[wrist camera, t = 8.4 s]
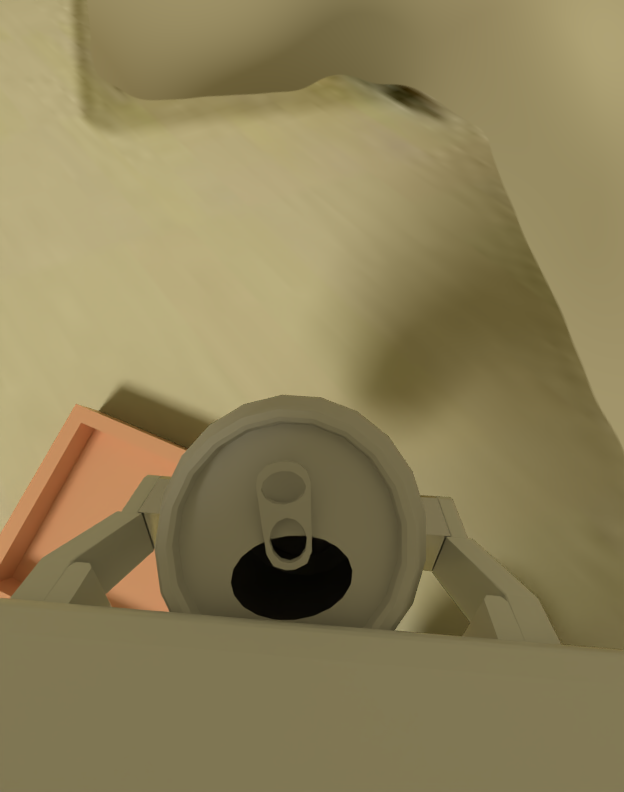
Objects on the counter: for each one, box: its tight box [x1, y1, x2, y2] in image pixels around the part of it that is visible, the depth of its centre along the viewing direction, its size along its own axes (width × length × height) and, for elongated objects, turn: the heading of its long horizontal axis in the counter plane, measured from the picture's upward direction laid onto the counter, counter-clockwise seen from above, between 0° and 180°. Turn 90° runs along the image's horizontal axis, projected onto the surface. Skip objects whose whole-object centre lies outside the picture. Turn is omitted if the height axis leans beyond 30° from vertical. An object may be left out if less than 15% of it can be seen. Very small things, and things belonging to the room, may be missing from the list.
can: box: [154, 395, 426, 631], centre depth 13 cm, size 8×8×12 cm
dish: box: [0, 404, 187, 612], centre depth 27 cm, size 15×15×3 cm
